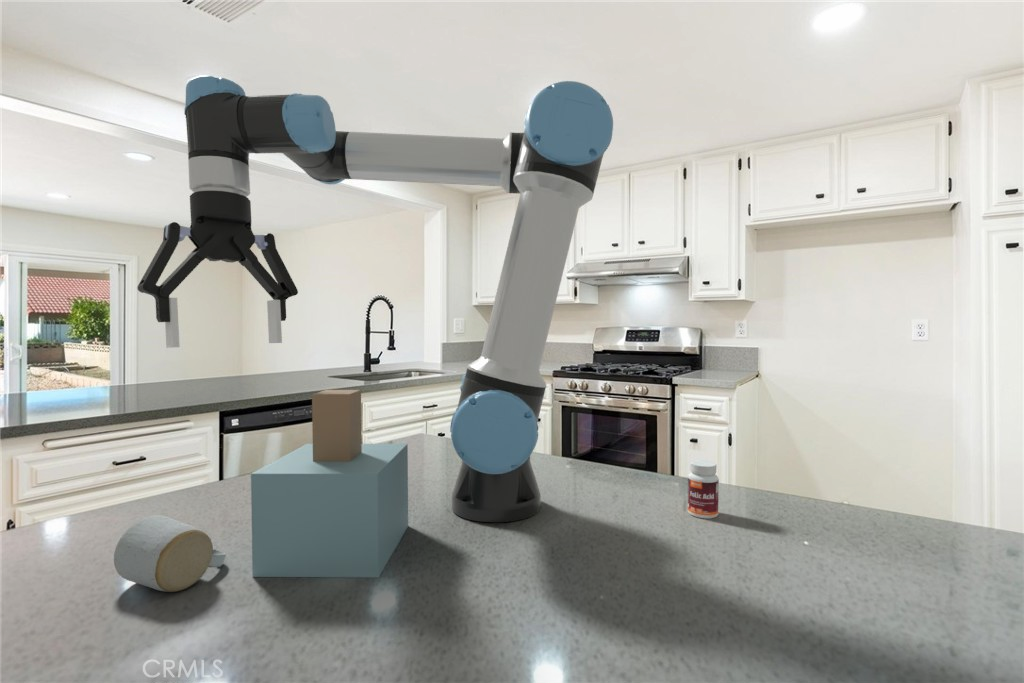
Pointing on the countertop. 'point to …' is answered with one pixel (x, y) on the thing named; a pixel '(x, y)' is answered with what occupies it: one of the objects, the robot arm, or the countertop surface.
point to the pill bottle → (703, 489)
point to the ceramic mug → (165, 554)
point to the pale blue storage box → (330, 499)
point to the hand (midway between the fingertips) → (227, 345)
